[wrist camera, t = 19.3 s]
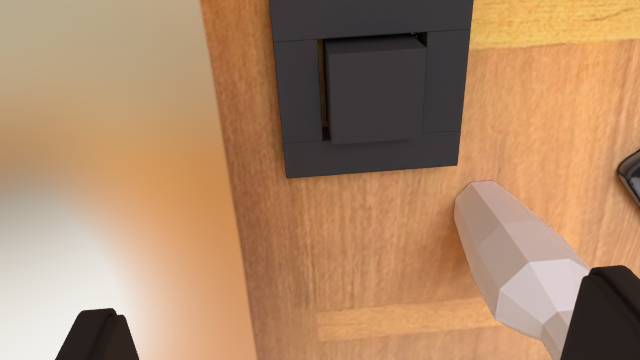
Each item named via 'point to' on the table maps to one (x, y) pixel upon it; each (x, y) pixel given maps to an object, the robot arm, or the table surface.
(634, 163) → the phone
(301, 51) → the frame pad
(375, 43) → the black square block
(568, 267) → the faceted bottle
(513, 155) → the table surface
